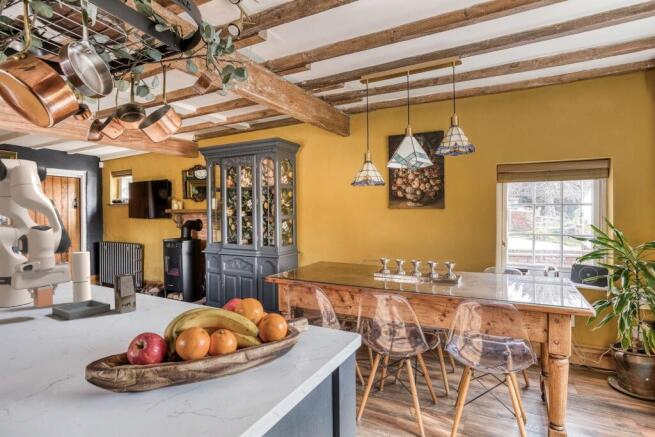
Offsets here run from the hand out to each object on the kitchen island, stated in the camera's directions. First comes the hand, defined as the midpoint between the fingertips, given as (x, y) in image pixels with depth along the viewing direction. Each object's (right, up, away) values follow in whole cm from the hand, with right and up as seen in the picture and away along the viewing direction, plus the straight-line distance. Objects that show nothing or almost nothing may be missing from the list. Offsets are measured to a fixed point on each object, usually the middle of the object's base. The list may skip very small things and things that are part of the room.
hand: (43, 296), depth 152 cm
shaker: (0, -4, 0) cm, 4 cm away
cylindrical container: (0, -9, +24) cm, 25 cm away
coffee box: (+29, -9, +10) cm, 32 cm away
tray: (+12, -9, +7) cm, 16 cm away
